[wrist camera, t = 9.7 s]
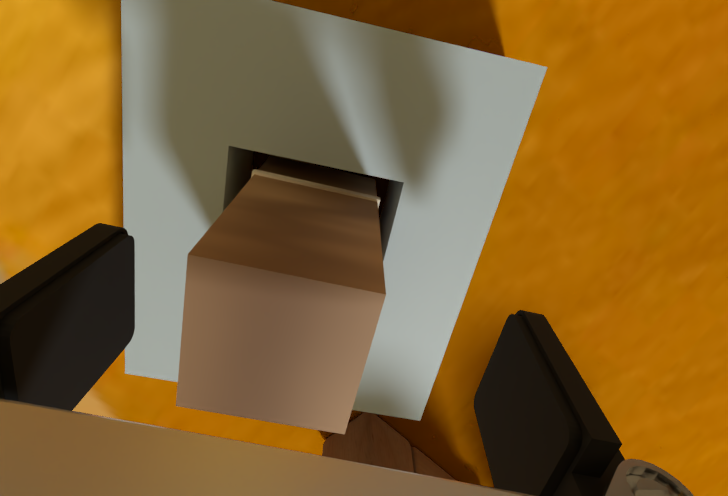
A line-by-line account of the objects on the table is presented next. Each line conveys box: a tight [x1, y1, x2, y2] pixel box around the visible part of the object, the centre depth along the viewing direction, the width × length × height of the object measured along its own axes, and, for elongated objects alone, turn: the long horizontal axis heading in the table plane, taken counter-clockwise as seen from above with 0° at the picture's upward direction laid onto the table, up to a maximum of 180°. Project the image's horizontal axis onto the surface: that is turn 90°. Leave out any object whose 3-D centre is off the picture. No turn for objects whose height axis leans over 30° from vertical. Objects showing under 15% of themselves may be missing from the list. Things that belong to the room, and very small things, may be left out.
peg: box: [176, 155, 386, 434], centre depth 14 cm, size 4×4×10 cm
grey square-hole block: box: [121, 0, 547, 421], centre depth 17 cm, size 12×14×4 cm
